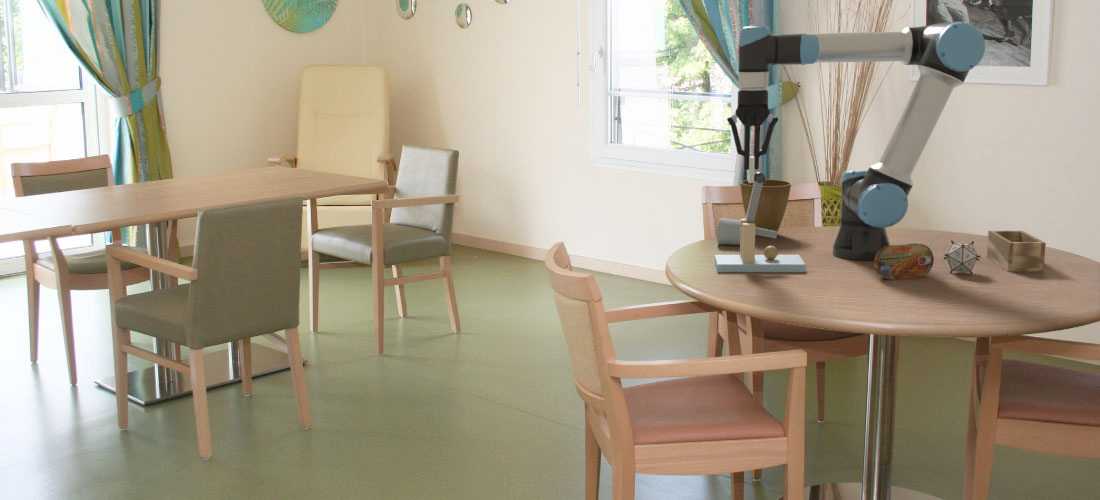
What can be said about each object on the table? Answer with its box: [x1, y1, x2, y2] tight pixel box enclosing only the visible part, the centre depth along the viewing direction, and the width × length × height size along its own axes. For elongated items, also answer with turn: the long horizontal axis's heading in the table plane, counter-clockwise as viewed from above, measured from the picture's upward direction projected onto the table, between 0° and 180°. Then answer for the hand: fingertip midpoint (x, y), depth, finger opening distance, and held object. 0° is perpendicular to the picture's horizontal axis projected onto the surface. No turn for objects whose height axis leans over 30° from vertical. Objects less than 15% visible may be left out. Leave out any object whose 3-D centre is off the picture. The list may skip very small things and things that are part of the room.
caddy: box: [986, 230, 1047, 272], centre depth 264 cm, size 9×17×7 cm, turn 174°
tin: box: [873, 243, 935, 281], centre depth 252 cm, size 15×3×8 cm, turn 102°
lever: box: [741, 171, 778, 240], centre depth 264 cm, size 9×4×17 cm, turn 85°
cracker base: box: [714, 218, 806, 273], centre depth 267 cm, size 22×12×12 cm, turn 84°
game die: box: [943, 239, 982, 275], centre depth 256 cm, size 9×8×10 cm
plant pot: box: [739, 178, 792, 238], centre depth 309 cm, size 15×15×16 cm
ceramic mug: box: [716, 217, 741, 246], centre depth 298 cm, size 11×8×8 cm
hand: (751, 182), depth 264 cm, fingers closed
